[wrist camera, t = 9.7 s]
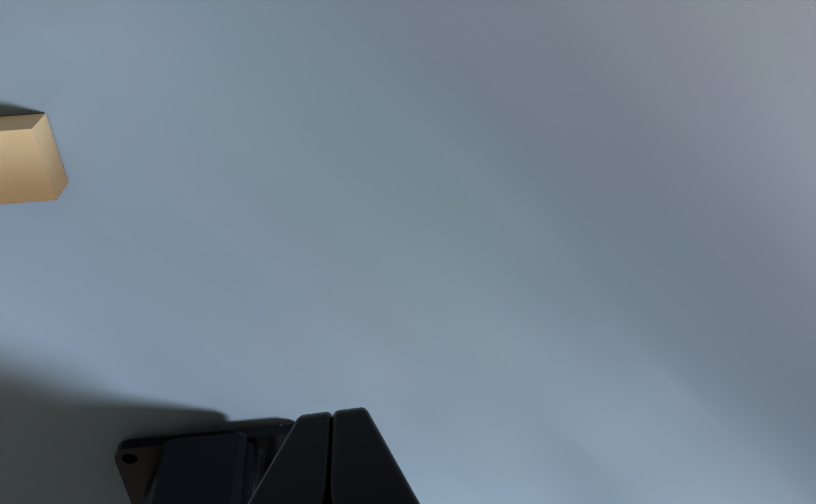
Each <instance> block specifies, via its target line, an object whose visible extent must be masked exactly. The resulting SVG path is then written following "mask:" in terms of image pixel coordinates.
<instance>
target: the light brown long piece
mask: <svg viewBox="0 0 816 504" xmlns="http://www.w3.org/2000/svg"><path fill="white" fill-rule="evenodd" d="M67 184H68V179H67V176H66V173H65V170H64V167H63V164H62V161H61V158H60V155H59V152H58V149H57V146H56V143H55V140H54V137H53V134H52V131H51V128H50V125H49V122H48V119H47V116H46V113H44V114H30V115H16V116H2V117H0V204H10V203H23V202H36V201H49V200H57V199H58V197H59V196H60V194H61V193H62V191H63V190H64V188H65V187H66V185H67Z"/></svg>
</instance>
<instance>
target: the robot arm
mask: <svg viewBox="0 0 816 504" xmlns="http://www.w3.org/2000/svg"><path fill="white" fill-rule="evenodd" d="M130 454H133V455H130ZM115 462H116V464H117V467H118V469H119V472H120V475H121V477H122V480H123V482H124V485H125V488H126V490H127V493H128V495H129V498H130V501H131V503H132V504H420V503H419V501H418V500H417V498H416V496H415V494H414V492H413V491H412V489H411V487H410V485H409V484H408V482H407V480H406V478H405V476H404V475H403V473H402V471H401V469H400V468H399V466H398V464H397V462H396V460H395V459H394V457H393V455H392V453H391V452H390V450H389V448H388V446H387V444H386V443H385V441H384V439H383V437H382V436H381V434H380V432H379V430H378V428H377V427H376V425H375V423H374V421H373V419H372V418H371V416H370V414H369V412H368V411H367V410H366V409H365V408H363V407H360V408H352V409H344V410H338V411H336V412H335V413H334V415H332V414H331V413H329V412H321V413H314V414H306V415H302V416H300V417H299V418H298V419H297V420H296V422H295V423H294V425H283V426H272V427H261V428H251V429H240V430H229V431H218V432H207V433H197V434H186V435H175V436H164V437H153V438H143V439H132V440H126V441H123V442H121V443H120V444H119V446H118V447H117V451H116V454H115Z"/></svg>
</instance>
